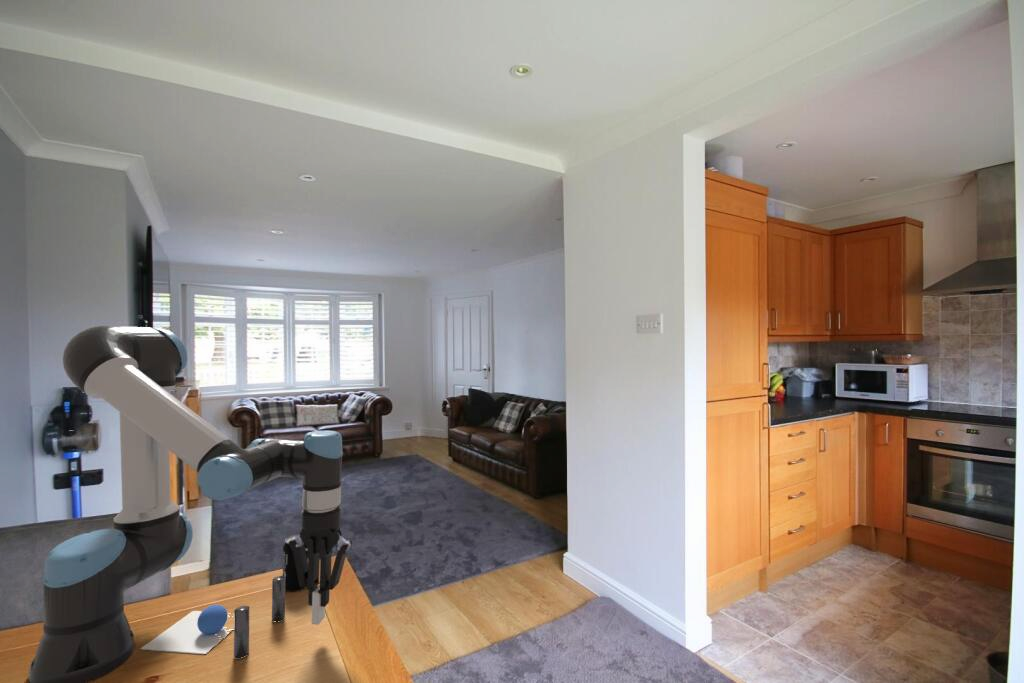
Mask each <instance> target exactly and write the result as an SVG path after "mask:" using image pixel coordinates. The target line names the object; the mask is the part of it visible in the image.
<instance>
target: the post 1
mask: <svg viewBox="0 0 1024 683" xmlns="http://www.w3.org/2000/svg"><path fill="white" fill-rule="evenodd" d="M249 615H250V606H249V605H240V606H239V607H236V608H235V609H234V631H233V658H234V657H235V658H241V657H244V656H246V655H248V656H249V655H250V617H249ZM246 657H247V656H246ZM235 658H234V659H235Z"/></svg>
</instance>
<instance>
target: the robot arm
mask: <svg viewBox="0 0 1024 683" xmlns="http://www.w3.org/2000/svg"><path fill="white" fill-rule="evenodd" d="M66 344H67V345H66V346H65V348H64V350H63V356H62V365H63V369H64V371H65V374H66V375H67V377H68V379H70V381H71V382H72V384H74V386H76V387H77V388H78V390H80V391H82V392H83V393H84V394H86V395H87V396H88V397H89V398H92V399H101V400H104V402H106V403H108V404H109V405H110V406H111V407H112V408H114V410H117V411H118V412H119V435H120V437H119V438H120V467H121V468H120V469H121V470H120V471H121V498H122V499H121V505H122V508H121V510H120V511H119V512H118V513H117V514H116V516H114V518H113V528H103V529H96V530H92V531H91V532H89V533H88V532H87V533H85V532H84V533H81V534H78V535H76V536H73V537H71V538H69V539H66V540H65V541H63V542H61V543H59V544H58V545H56V546H55V547H54V548H53V549H52V550H51V551H50V552H49V553H48V554H47V556H46V557H45V558H46V559H45V561H44V570H43V571H44V572H43V573H42V583H43V613H42V614H43V623H42V624H43V625H42V627H43V628H42V635H41V638H40V641H39V643H38V646H37V650H36V652H35V653H36V654H35V657H34V658H33V659H32V661H31V662H30V664H29V665H30V666H29V669H28V670H29V671H28V682H30V683H88V682H91V681H94V680H96V679H98V678H100V677H103V676H105V675H107V674H109V673H110V672H112V671H114V670H115V669H117V668H119V667H120V666H121V665H123V664H124V663H125V662H126V661H127V660H129V658H130V657H131V656H132V655H133V653H134V651H135V643H136V642H135V641H136V640H135V634H134V632H133V630H132V629H131V625H130V623H129V620H128V618H127V616H126V613H125V591H127V590H128V589H130V588H132V587H134V586H136V585H137V584H139V583H141V582H143V581H145V580H147V579H149V578H151V577H153V576H154V575H156V574H159V573H160V572H164V571H165V570H167V569H169V568H170V567H172V566H173V565H174V564H175V563H177V562H179V561H180V560H181V559H182V558H183V557H184V556H185V555H186V553H188V551H189V549H190V548H191V545H192V541H193V535H194V532H193V526H192V522H191V521H190V520H188V517H187V516H186V515H185V513H183V512H181V511H180V506H179V505H178V504H177V503H176V502H173V501H172V492H171V490H172V488H171V461H170V460H171V459H170V457H171V456H170V455H171V454H170V452H171V453H172V454H174V455H175V456H176V457H177V458H179V459H180V460H181V461H183V462H184V463H185V464H186V465H188V466H189V467H191V469H193V470H195V472H197V479H196V480H197V481H196V482H197V486H199V488H200V490H201V493H202V494H203V496H204V497H206V498H208V499H209V500H214V501H223V500H227V499H230V498H234V497H237V496H241V495H242V494H244V493H245V492H247V491H249V490H251V489H253V488H255V487H257V486H261V485H263V484H265V483H268V482H270V481H272V480H274V479H277V478H280V477H284V478H285V477H287V478H289V477H290V478H302V493H301V494H302V496H301V497H302V499H301V506H302V508H303V509H302V510H301V530H300V532H299V534H300V535H299V536H296V537H295V538H293V539H292V540H291V541H289V546H290V548H291V550H292V551H293V555H294V560H295V565H296V570H297V576H298V581H299V585H300V587H302V588H303V587H305V588H304V589H307V591H308V600H307V602H308V603H307V604H308V606H309V607H311V625H315V626H316V625H318V626H319V624H320V623H322V621H323V620H324V619H325V617H326V607H327V605H328V604H329V602H330V591H332V590H333V589H335V588H336V586H337V585H338V584H340V579H341V576H342V572H343V567H344V565H345V561H346V557H347V553H348V551H349V549H350V547H352V545H353V541H352V540H351V539H345V538H344V537H343V536H342V534H343V533H342V530H341V528H340V527H341V526H340V525H341V512H342V511H341V509H342V508H341V506H340V505H341V503H342V468H343V454H344V452H343V438H342V434H341V433H340V432H339V431H335V430H314V431H310V432H307V433H306V434H305V435H304V437H303V440H297V439H284V438H283V439H282V438H275V437H268V438H257V439H254V440H253V441H251V443H250V444H249V445H247V447H246V448H242V447H241V446H239V444H237V443H235V442H234V441H233V440H232V439H230V438H229V437H227V436H226V435H225V434H224V433H223V432H221V431H219V430H218V429H217V428H215V426H213V425H212V424H210V423H209V422H208V421H206V419H204V418H203V417H201V416H200V415H199V414H198V413H196V412H194V411H193V410H192V409H190V407H188V406H187V405H186V404H184V403H183V402H182V401H180V400H179V399H178V398H176V397H175V396H174V395H173V394H172V393H170V392H171V391H173V390H174V389H175V388H176V385H177V384H176V377H179V375H181V374H182V373H183V370H184V369H185V368H186V366H187V363H188V353H187V348H186V346H185V344H184V342H183V341H182V340H181V338H180V337H178V336H177V335H176V334H175V333H174V332H172V331H170V330H168V329H163V328H156V327H148V326H145V327H144V326H143V327H142V326H140V327H138V326H113V325H98V326H93V327H89V328H87V329H85V330H82V331H80V332H79V333H77V334H76V335H74V336H73V337H72V338H71V339H70V340H69V341H68V343H66ZM304 544H305V546H306V548H307V549H308V552H307V557H308V562H307V557H306V552H305V547H304ZM336 545H337V547H336V548H337V553H336V556H335V558H334V563H333V567H332V556H333V555H332V554H333V553H334V551H333V549H334V548H335V546H336Z"/></svg>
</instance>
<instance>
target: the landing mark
mask: <svg viewBox="0 0 1024 683" xmlns="http://www.w3.org/2000/svg"><path fill="white" fill-rule="evenodd" d="M202 611H203V610H202ZM202 611H201V610H192V611H191V612H189V613H187V615H185V616H184V617H183V618H181V619H180V620H178V621H176V622H175V623H174V624H172V625H171V626H170V627H168V628H167V629H166V630H164V631H162V633H160V634H158V635H157V636H156V637H155V638H153V639H151V641H149V642H148V643H146V644H145V645H143V646H142V647H140V651H141V650H142V651H153V652H155V651H157V652H165V653H166V652H167V653H169V652H170V653H179V654H195V655H204V654H206V655H208V654H209V653H210V652H211V651H212V650H213V649H214V648H215V647H216V646H218V643H219V642H220V641H219V640H222V639H223V638H224V639H226V638H227V637H228V636H227V635H226V634H229V632H227V631H230V630H234V629H229V630H226V629H224V628H227V627H223V628H222V629H223V630H220V631H218V632H216V633H214V634H204V633H202V632H201V631H200V630H199V629H198V625H197V622H198V618H199V615H200V614H201V613H202ZM231 613H232V612H227V614H231ZM233 614H234V613H233ZM228 617H230V616H229V615H228ZM232 617H233V616H232ZM215 634H217V635H215ZM229 635H230V634H229ZM218 636H221V637H218ZM226 636H227V637H226ZM219 638H222V639H219ZM224 639H223V640H224ZM223 640H222V641H223ZM220 643H221V642H220ZM220 643H219V644H220ZM214 646H215V647H214ZM213 647H214V648H213ZM212 648H213V649H212ZM211 649H212V650H211ZM210 650H211V651H210Z"/></svg>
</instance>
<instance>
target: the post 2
mask: <svg viewBox="0 0 1024 683" xmlns="http://www.w3.org/2000/svg"><path fill="white" fill-rule="evenodd" d="M271 581H272V583H271V584H272V585H271V622H272V621H276V622H277V623H279V622H278V621H281V620H283V619H284V618H285V617H286V589H285V577H284V576H283V575H279V576H276V577H273V578H272V580H271ZM284 620H285V619H284ZM284 620H283V621H284ZM281 622H282V621H281Z"/></svg>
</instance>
